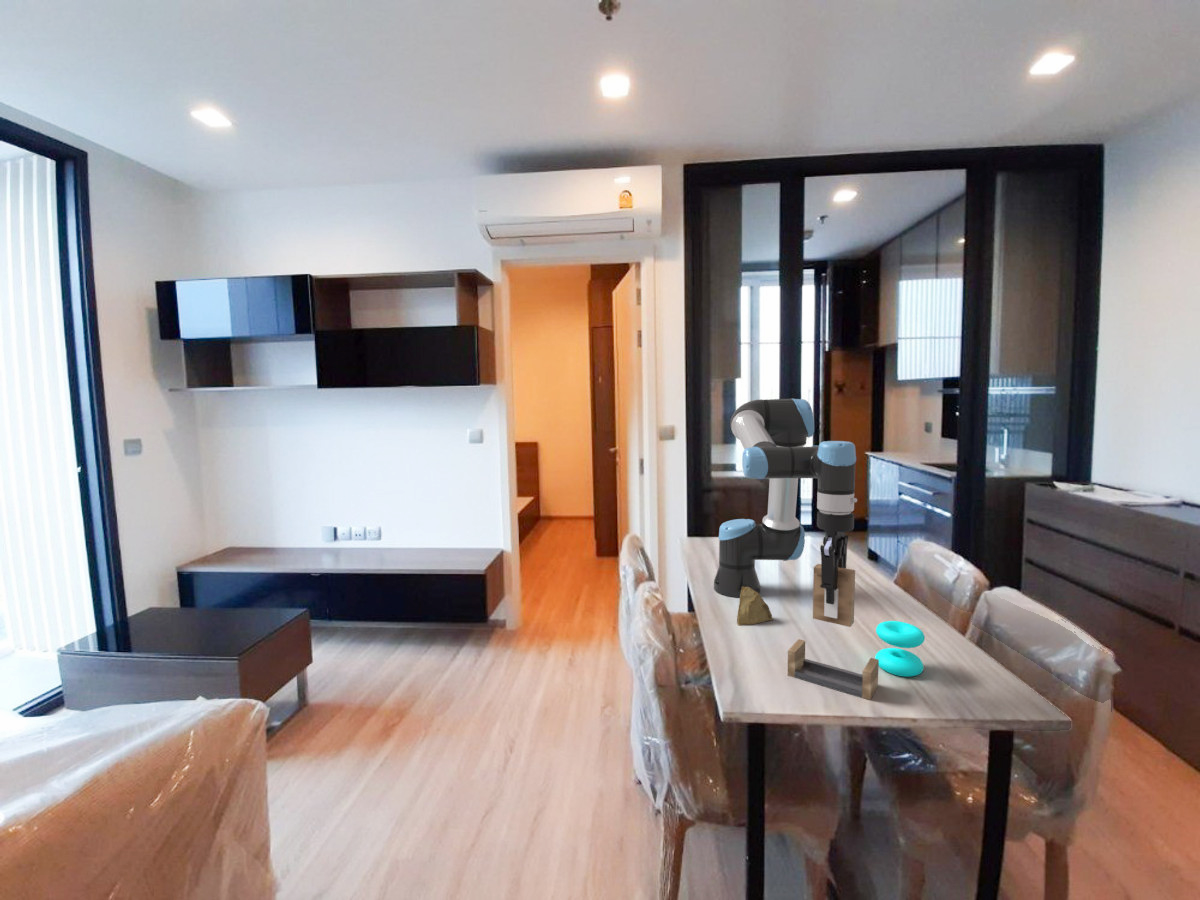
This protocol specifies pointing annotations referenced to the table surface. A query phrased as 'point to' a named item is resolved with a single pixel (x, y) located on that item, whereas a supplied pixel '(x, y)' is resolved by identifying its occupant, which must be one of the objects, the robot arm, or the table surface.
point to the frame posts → (869, 673)
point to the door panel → (844, 597)
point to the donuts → (898, 658)
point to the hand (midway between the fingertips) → (833, 613)
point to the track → (831, 677)
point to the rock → (752, 608)
